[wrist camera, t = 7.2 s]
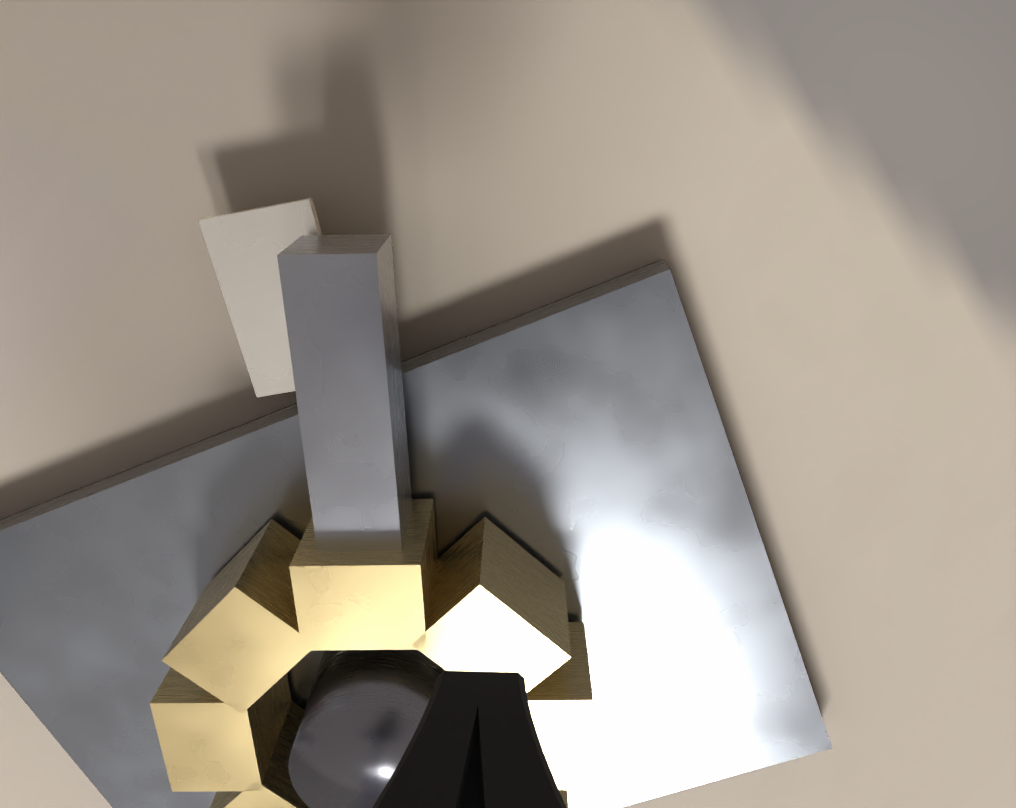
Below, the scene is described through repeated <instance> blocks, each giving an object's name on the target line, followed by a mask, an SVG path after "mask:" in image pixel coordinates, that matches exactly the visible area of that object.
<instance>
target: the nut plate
mask: <svg viewBox="0 0 1016 808" xmlns="http://www.w3.org/2000/svg"><path fill="white" fill-rule="evenodd" d="M198 222H199V225H200V228H201V231H202V234H203V237H204V240H205V243H206V246H207V249H208V252H209V255H210V258H211V261H212V264H213V267H214V270H215V273H216V276H217V279H218V282H219V285H220V288H221V291H222V294H223V297H224V300H225V303H226V306H227V309H228V312H229V315H230V318H231V321H232V324H233V327H234V330H235V333H236V336H237V339H238V342H239V346H240V349H241V352H242V355H243V358H244V361H245V364H246V367H247V370H248V373H249V376H250V379H251V382H252V385H253V388H254V391H255V394H256V397H263V396H269V395H275V394H280V393H286V392H292V391H295V385H294V377H293V370H292V363H291V355H290V348H289V340H288V333H287V326H286V318H285V311H284V303H283V296H282V289H281V281H280V274H279V266H278V259H277V255H278V254H279V253H280V252H282V251H283V250H284V249H285V248H287V247H288V246H289V245H290V244H292V243H293V242H294V241H295V240H297V239H298V238H299V237H301V236H302V235H322V232H321V228H320V225H319V221H318V217H317V214H316V210H315V206H314V203H313V199H312V197H311V198H306V199H301V200H296V201H290V202H285V203H280V204H275V205H269V206H264V207H259V208H253V209H248V210H243V211H238V212H232V213H227V214H222V215H217V216H211V217H206V218H202V219H200V220H198ZM401 366H402V379H403V392H404V405H405V417H406V430H407V443H408V456H409V469H410V481H411V494H412V499H433V500H434V515H435V530H436V545H437V559H439V558H440V557H441V556H442V555H443V554H444V553H445V552H446V551H447V550H448V549H450V548H451V547H452V546H453V545H454V544H455V543H456V542H457V541H458V540H459V539H461V538H462V537H463V536H464V535H465V534H466V533H467V532H468V531H469V530H470V529H472V528H473V527H474V526H475V525H476V524H477V523H478V522H479V521H480V520H481V519H483V518H484V517H486V518H487V519H489V520H490V521H491V522H492V523H493V524H495V525H496V526H497V527H498V528H499V529H501V530H502V531H503V532H504V533H505V534H507V535H508V536H509V537H510V538H511V539H513V540H514V541H515V542H516V543H518V544H519V545H520V546H521V547H522V548H524V549H525V550H526V551H527V552H528V553H530V554H531V555H532V556H533V557H534V558H536V559H537V560H538V561H539V562H540V563H542V564H543V565H544V566H545V567H547V568H548V569H549V570H550V571H551V572H553V573H554V574H555V575H556V576H557V577H559V578H560V579H561V580H562V581H563V582H565V591H566V602H567V614H568V622H584V625H585V633H586V642H587V651H588V659H589V668H590V676H591V685H592V694H593V730H592V768H591V790H567V798H568V808H621V807H625V806H628V805H632V804H635V803H639V802H643V801H646V800H650V799H653V798H657V797H660V796H664V795H668V794H671V793H675V792H678V791H682V790H685V789H689V788H692V787H696V786H700V785H703V784H707V783H710V782H714V781H717V780H721V779H725V778H728V777H732V776H735V775H739V774H742V773H746V772H749V771H753V770H757V769H760V768H764V767H767V766H771V765H774V764H778V763H782V762H785V761H789V760H792V759H796V758H799V757H803V756H806V755H810V754H814V753H817V752H821V751H824V750H828V749H831V748H832V745H831V742H830V740H829V737H828V734H827V731H826V728H825V725H824V722H823V719H822V716H821V713H820V710H819V707H818V704H817V701H816V698H815V695H814V692H813V689H812V686H811V683H810V681H809V678H808V675H807V672H806V669H805V666H804V663H803V660H802V657H801V654H800V651H799V648H798V645H797V642H796V639H795V636H794V633H793V630H792V627H791V624H790V622H789V619H788V616H787V613H786V610H785V607H784V604H783V601H782V598H781V595H780V592H779V589H778V586H777V583H776V580H775V577H774V574H773V571H772V568H771V565H770V563H769V560H768V557H767V554H766V551H765V548H764V545H763V542H762V539H761V536H760V533H759V530H758V527H757V524H756V521H755V518H754V515H753V512H752V509H751V506H750V504H749V501H748V498H747V495H746V492H745V489H744V486H743V483H742V480H741V477H740V474H739V471H738V468H737V465H736V462H735V459H734V456H733V453H732V450H731V447H730V445H729V442H728V439H727V436H726V433H725V430H724V427H723V424H722V421H721V418H720V415H719V412H718V409H717V406H716V403H715V400H714V397H713V394H712V391H711V388H710V386H709V383H708V380H707V377H706V374H705V371H704V368H703V365H702V362H701V359H700V356H699V353H698V350H697V347H696V344H695V341H694V338H693V335H692V332H691V329H690V327H689V324H688V321H687V318H686V315H685V312H684V309H683V306H682V303H681V300H680V297H679V294H678V291H677V288H676V285H675V282H674V279H673V276H672V273H671V271H670V268H669V267H668V266H667V264H666V263H665V262H664V260H660V261H658V262H655V263H653V264H650V265H648V266H645V267H643V268H640V269H638V270H635V271H632V272H630V273H627V274H625V275H622V276H620V277H617V278H615V279H612V280H610V281H607V282H605V283H602V284H599V285H597V286H594V287H592V288H589V289H587V290H584V291H582V292H579V293H577V294H574V295H571V296H569V297H566V298H564V299H561V300H559V301H556V302H554V303H551V304H549V305H546V306H543V307H541V308H538V309H536V310H533V311H531V312H528V313H526V314H523V315H521V316H518V317H515V318H513V319H510V320H508V321H505V322H503V323H500V324H498V325H495V326H493V327H490V328H488V329H485V330H482V331H480V332H477V333H475V334H472V335H470V336H467V337H465V338H462V339H460V340H457V341H454V342H452V343H449V344H447V345H444V346H442V347H439V348H437V349H434V350H432V351H429V352H426V353H424V354H421V355H419V356H416V357H414V358H411V359H409V360H406V361H404V362H401ZM311 517H312V510H311V503H310V496H309V488H308V481H307V473H306V466H305V459H304V451H303V444H302V436H301V429H300V422H299V414H298V407H297V404H294V405H292V406H289V407H287V408H284V409H282V410H279V411H276V412H274V413H271V414H269V415H266V416H264V417H261V418H259V419H256V420H254V421H251V422H248V423H246V424H243V425H241V426H238V427H236V428H233V429H231V430H228V431H226V432H223V433H220V434H218V435H215V436H213V437H210V438H208V439H205V440H203V441H200V442H198V443H195V444H192V445H190V446H187V447H185V448H182V449H180V450H177V451H175V452H172V453H170V454H167V455H165V456H162V457H159V458H157V459H154V460H152V461H149V462H147V463H144V464H142V465H139V466H137V467H134V468H131V469H129V470H126V471H124V472H121V473H119V474H116V475H114V476H111V477H109V478H106V479H103V480H101V481H98V482H96V483H93V484H91V485H88V486H86V487H83V488H81V489H78V490H76V491H73V492H70V493H68V494H65V495H63V496H60V497H58V498H55V499H53V500H50V501H48V502H45V503H42V504H40V505H37V506H35V507H32V508H30V509H27V510H25V511H22V512H20V513H17V514H14V515H12V516H9V517H7V518H4V519H2V520H0V672H1V674H2V675H3V676H4V677H5V679H6V680H7V681H8V682H9V683H10V685H11V686H12V687H13V688H14V689H15V691H16V692H17V693H18V694H19V695H20V697H21V698H22V699H23V700H24V701H25V703H26V704H27V705H28V706H29V707H30V709H31V710H32V711H33V712H34V713H35V715H36V716H37V717H38V718H39V719H40V721H41V722H42V723H43V724H44V725H45V727H46V728H47V729H48V730H49V732H50V733H51V734H52V735H53V736H54V738H55V739H56V740H57V741H58V742H59V744H60V745H61V746H62V747H63V748H64V750H65V751H66V752H67V753H68V754H69V756H70V757H71V758H72V759H73V760H74V762H75V763H76V764H77V765H78V766H79V768H80V769H81V770H82V771H83V772H84V774H85V775H86V776H87V777H88V778H89V780H90V781H91V782H92V783H93V785H94V786H95V787H96V788H97V789H98V791H99V792H100V793H101V794H102V795H103V797H104V798H105V799H106V800H107V801H108V803H109V804H110V805H111V806H112V807H113V808H210V806H211V803H212V801H213V799H214V796H215V794H216V791H204V792H172V789H171V785H170V781H169V778H168V774H167V770H166V766H165V762H164V758H163V754H162V750H161V746H160V742H159V738H158V734H157V730H156V726H155V722H154V718H153V715H152V711H151V707H150V702H151V700H152V699H153V697H154V695H155V693H156V692H157V690H158V688H159V686H160V685H161V683H162V681H163V679H164V678H165V676H166V674H167V673H168V671H169V669H170V666H169V665H167V664H166V663H164V662H163V661H162V659H163V657H164V656H165V654H166V652H167V651H168V649H169V647H170V646H171V644H172V642H173V641H174V639H175V637H176V636H177V634H178V632H179V631H180V629H181V627H182V626H183V624H184V622H185V621H186V619H187V617H188V616H189V614H190V612H191V611H192V609H193V607H194V606H195V604H196V602H197V601H198V599H199V597H200V596H201V594H202V592H203V591H204V589H205V587H206V586H207V585H208V584H209V583H210V582H211V581H212V580H213V579H214V578H215V577H216V576H217V575H218V574H219V573H220V572H221V570H222V569H223V568H224V567H225V566H226V565H227V564H228V563H229V562H230V561H231V560H232V559H233V558H234V557H235V556H236V555H237V554H238V553H239V552H240V551H241V550H242V549H243V548H244V547H245V546H246V545H247V544H248V543H249V542H250V541H251V540H252V539H253V538H254V537H255V536H256V535H257V534H258V533H259V532H260V531H261V530H262V529H263V528H264V527H265V526H266V525H267V523H268V522H269V521H270V520H271V519H273V520H274V521H275V522H277V523H278V524H279V525H281V526H282V527H283V528H285V529H286V530H287V531H289V532H290V533H291V534H293V535H294V536H295V537H296V538H298V539H299V540H300V541H301V539H302V537H303V535H304V533H305V530H306V528H307V526H308V524H309V522H310V520H311ZM443 671H446V670H445V669H443V668H442V667H440V666H439V665H438V664H436V663H435V662H434V661H432V660H431V659H430V658H428V657H427V656H426V655H424V654H423V653H422V652H420V651H419V650H311V651H310V652H309V653H308V654H307V655H306V656H304V657H303V658H302V659H301V660H300V661H299V662H298V663H297V664H296V665H295V666H294V667H292V668H291V669H290V670H289V671H288V672H287V676H288V682H289V688H290V694H291V701H292V702H294V703H295V704H297V705H298V706H300V707H301V708H302V709H304V713H303V716H302V719H301V722H300V725H299V728H298V731H297V734H296V737H295V740H294V743H293V746H292V749H291V753H290V756H289V763H288V768H289V775H290V780H291V782H292V785H293V787H294V789H295V791H296V792H297V794H298V796H299V797H300V798H301V799H302V801H303V802H304V803H305V804H306V805H307V806H308V807H309V808H372V807H373V806H374V804H375V802H376V801H377V799H378V798H379V796H380V794H381V793H382V791H383V789H384V788H385V786H386V784H387V783H388V781H389V780H390V778H391V776H392V774H393V773H394V771H395V769H396V767H397V765H398V763H399V762H400V760H401V758H402V756H403V754H404V752H405V750H406V748H407V746H408V745H409V743H410V741H411V739H412V737H413V735H414V733H415V731H416V729H417V727H418V725H419V722H420V720H421V718H422V716H423V714H424V711H425V709H426V707H427V704H428V702H429V700H430V697H431V694H432V692H433V689H434V686H435V683H436V679H437V676H438V675H440V674H441V673H442V672H443Z"/></svg>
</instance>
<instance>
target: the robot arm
mask: <svg viewBox="0 0 1016 808" xmlns="http://www.w3.org/2000/svg"><path fill="white" fill-rule="evenodd" d="M372 808H567V807H566V805H565V803H564V801H563V798H562V796H561V794H560V792H559V789H558V787H557V785H556V782H555V780H554V777H553V775H552V772H551V770H550V767H549V765H548V762H547V760H546V757H545V754H544V752H543V749H542V746H541V743H540V741H539V738H538V735H537V731H536V728H535V725H534V722H533V718H532V715H531V711H530V707H529V703H528V699H527V693H526V687H525V678H524V677H523V676H522V675H521V674H519V673H518V672H478V671H443V672H442V673H441V674H440V675H438V676H437V679H436V683H435V686H434V689H433V692H432V694H431V697H430V700H429V702H428V704H427V707H426V709H425V711H424V714H423V716H422V718H421V720H420V722H419V725H418V727H417V729H416V731H415V733H414V735H413V737H412V739H411V741H410V743H409V745H408V746H407V748H406V750H405V752H404V754H403V756H402V758H401V760H400V762H399V763H398V765H397V767H396V769H395V771H394V773H393V774H392V776H391V778H390V780H389V781H388V783H387V784H386V786H385V788H384V789H383V791H382V793H381V794H380V796H379V798H378V799H377V801H376V802H375V804H374V806H373V807H372Z"/></svg>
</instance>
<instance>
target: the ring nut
mask: <svg viewBox="0 0 1016 808" xmlns="http://www.w3.org/2000/svg"><path fill="white" fill-rule="evenodd" d="M277 259H278V266H279V274H280V281H281V289H282V296H283V303H284V311H285V318H286V326H287V333H288V340H289V348H290V355H291V363H292V370H293V377H294V385H295V392H296V400H297V407H298V414H299V422H300V429H301V436H302V444H303V451H304V459H305V466H306V473H307V481H308V488H309V496H310V503H311V510H312V517H311V520H310V522H309V524H308V526H307V528H306V530H305V533H304V535H303V537H302V539H301V541H300V540H299V539H298V538H296V537H295V536H294V535H293V534H291V533H290V532H289V531H287V530H286V529H285V528H283V527H282V526H281V525H279V524H278V523H277V522H275V521H274V520H273V519H271V520H270V521H269V522H268V523H267V525H266V526H265V527H264V528H263V529H262V530H261V531H260V532H259V533H258V534H257V535H256V536H255V537H254V538H253V539H252V540H251V541H250V542H249V543H248V544H247V545H246V546H245V547H244V548H243V549H242V550H241V551H240V552H239V553H238V554H237V555H236V556H235V557H234V558H233V559H232V560H231V561H230V562H229V563H228V564H227V565H226V566H225V567H224V568H223V569H222V570H221V572H220V573H219V574H218V575H217V576H216V577H215V578H214V579H213V580H212V581H211V582H210V583H209V584H208V585H207V586H206V587H205V589H204V591H203V592H202V594H201V596H200V597H199V599H198V601H197V602H196V604H195V606H194V607H193V609H192V611H191V612H190V614H189V616H188V617H187V619H186V621H185V622H184V624H183V626H182V627H181V629H180V631H179V632H178V634H177V636H176V637H175V639H174V641H173V642H172V644H171V646H170V647H169V649H168V651H167V652H166V654H165V656H164V657H163V659H162V661H163V662H164V663H166V664H167V665H169V666H170V669H169V671H168V673H167V674H166V676H165V678H164V679H163V681H162V683H161V685H160V686H159V688H158V690H157V692H156V693H155V695H154V697H153V699H152V700H151V702H150V707H151V711H152V715H153V718H154V722H155V726H156V730H157V734H158V738H159V742H160V746H161V750H162V754H163V758H164V762H165V766H166V770H167V774H168V778H169V781H170V785H171V789H172V792H204V791H216V794H215V796H214V799H213V801H212V803H211V806H210V808H309V807H308V806H307V805H306V804H305V803H304V802H303V801H302V799H301V798H300V797H299V796H298V794H297V792H296V791H295V789H294V787H293V785H292V782H291V780H290V775H289V768H288V763H289V756H290V753H291V749H292V746H293V743H294V740H295V737H296V734H297V731H298V728H299V725H300V722H301V719H302V716H303V713H304V709H302V708H301V707H300V706H298V705H297V704H295V703H294V702H292V701H291V694H290V688H289V682H288V676H287V672H288V671H289V670H290V669H291V668H292V667H294V666H295V665H296V664H297V663H298V662H299V661H300V660H301V659H302V658H303V657H304V656H306V655H307V654H308V653H309V652H310V651H311V650H419V651H420V652H422V653H423V654H424V655H426V656H427V657H428V658H430V659H431V660H432V661H434V662H435V663H436V664H438V665H439V666H440V667H442V668H443V669H445V670H446V671H478V672H518V673H519V674H521V675H522V676H523V677H524V678H525V687H526V693H527V699H528V703H529V707H530V711H531V715H532V718H533V722H534V725H535V728H536V731H537V735H538V738H539V741H540V743H541V746H542V749H543V752H544V754H545V757H546V760H547V762H548V765H549V767H550V770H551V772H552V775H553V777H554V780H555V782H556V785H557V787H558V789H559V792H560V794H561V796H562V798H563V801H564V803H565V805H566V807H567V808H568V798H567V790H591V768H592V730H593V694H592V685H591V676H590V668H589V659H588V651H587V642H586V633H585V625H584V622H568V614H567V602H566V591H565V582H563V581H562V580H561V579H560V578H559V577H557V576H556V575H555V574H554V573H553V572H551V571H550V570H549V569H548V568H547V567H545V566H544V565H543V564H542V563H540V562H539V561H538V560H537V559H536V558H534V557H533V556H532V555H531V554H530V553H528V552H527V551H526V550H525V549H524V548H522V547H521V546H520V545H519V544H518V543H516V542H515V541H514V540H513V539H511V538H510V537H509V536H508V535H507V534H505V533H504V532H503V531H502V530H501V529H499V528H498V527H497V526H496V525H495V524H493V523H492V522H491V521H490V520H489V519H487V518H486V517H484V518H483V519H481V520H480V521H479V522H478V523H477V524H476V525H475V526H474V527H473V528H472V529H470V530H469V531H468V532H467V533H466V534H465V535H464V536H463V537H462V538H461V539H459V540H458V541H457V542H456V543H455V544H454V545H453V546H452V547H451V548H450V549H448V550H447V551H446V552H445V553H444V554H443V555H442V556H441V557H440V558H439V559H437V545H436V530H435V515H434V500H433V499H412V494H411V481H410V469H409V456H408V443H407V430H406V417H405V405H404V392H403V379H402V366H401V354H400V341H399V328H398V315H397V302H396V290H395V277H394V264H393V251H392V238H391V234H351V235H302V236H301V237H299V238H298V239H297V240H295V241H294V242H293V243H292V244H290V245H289V246H288V247H287V248H285V249H284V250H283V251H282V252H280V253H279V254H278V255H277Z"/></svg>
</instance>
